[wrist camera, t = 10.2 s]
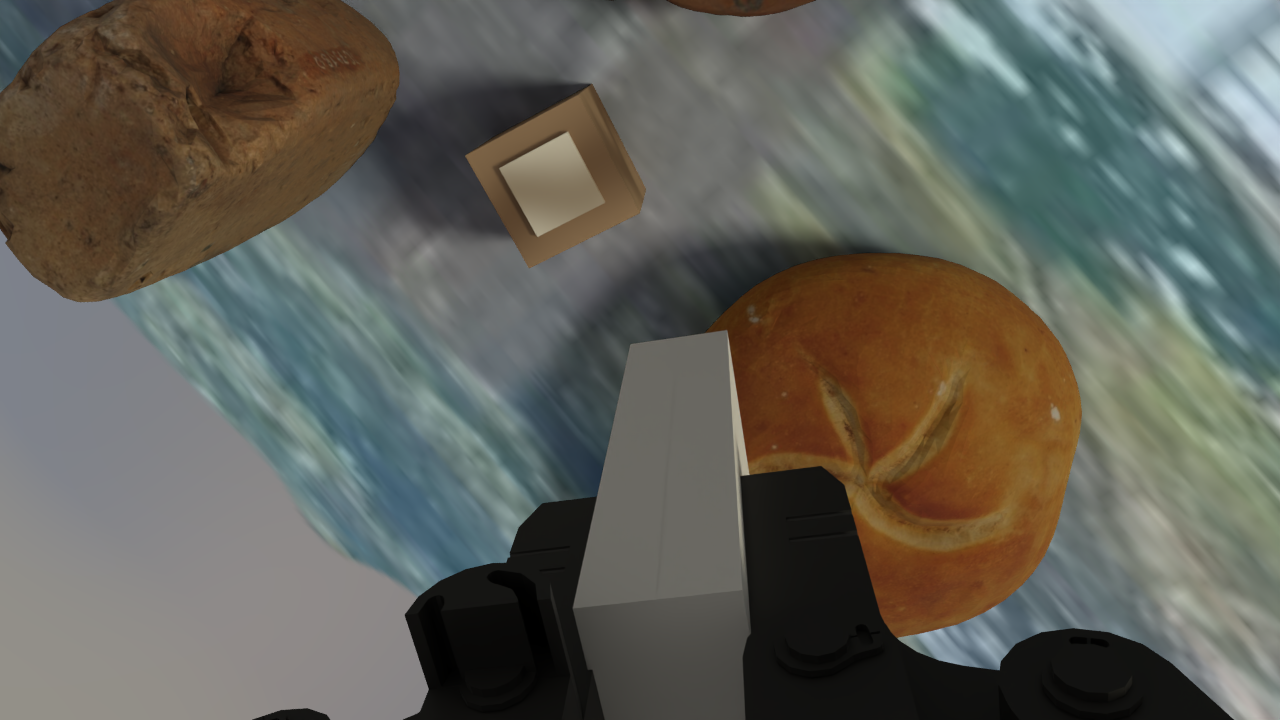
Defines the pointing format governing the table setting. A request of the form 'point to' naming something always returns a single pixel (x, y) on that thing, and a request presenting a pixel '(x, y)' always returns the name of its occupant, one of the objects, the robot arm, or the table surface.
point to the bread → (913, 420)
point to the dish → (740, 6)
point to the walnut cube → (559, 177)
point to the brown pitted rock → (181, 133)
